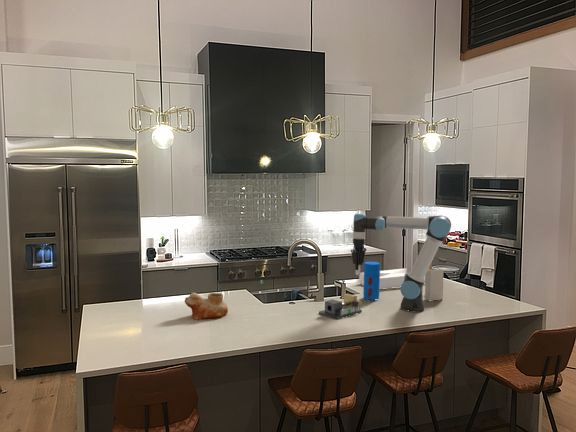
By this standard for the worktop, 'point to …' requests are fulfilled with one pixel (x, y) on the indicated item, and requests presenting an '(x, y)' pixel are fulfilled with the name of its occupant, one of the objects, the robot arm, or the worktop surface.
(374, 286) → the thermos
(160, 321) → the worktop surface
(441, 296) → the beige tall box
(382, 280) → the bread box
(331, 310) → the circuit board
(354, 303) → the pointer
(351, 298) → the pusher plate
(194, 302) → the ceramic vessel
